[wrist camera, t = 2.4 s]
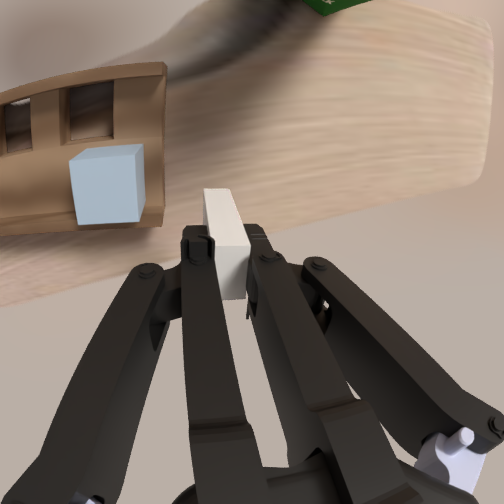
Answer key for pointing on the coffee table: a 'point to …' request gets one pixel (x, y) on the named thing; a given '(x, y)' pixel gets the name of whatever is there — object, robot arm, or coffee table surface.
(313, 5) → the milk carton
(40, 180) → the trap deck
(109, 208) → the blue block
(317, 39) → the coffee table surface
